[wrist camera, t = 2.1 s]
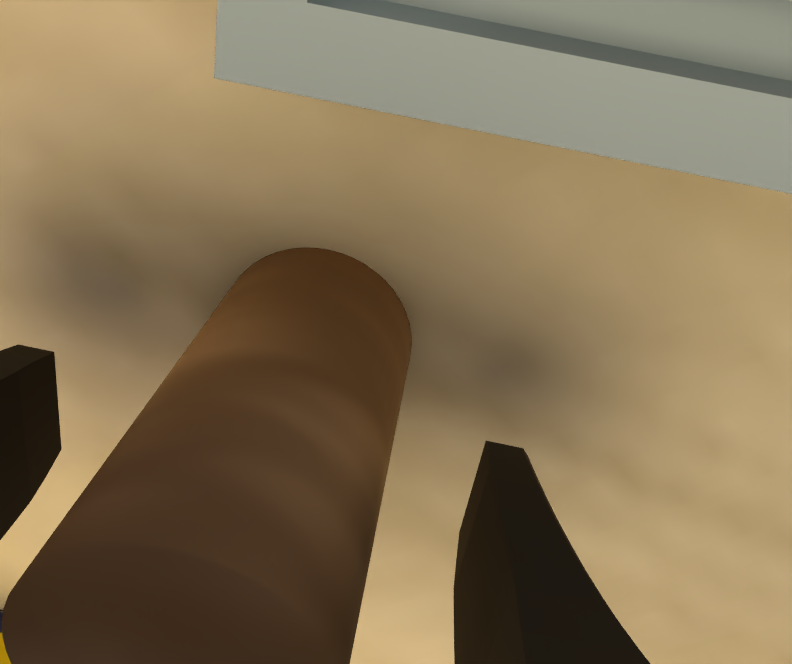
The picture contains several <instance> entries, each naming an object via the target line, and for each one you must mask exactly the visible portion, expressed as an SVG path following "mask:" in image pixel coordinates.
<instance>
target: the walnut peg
mask: <svg viewBox="0 0 792 664" xmlns="http://www.w3.org/2000/svg"><path fill="white" fill-rule="evenodd" d="M410 352H411V330H410V324H409V320H408V317H407V314H406V311H405V309H404V307H403V305H402V303H401V301H400V299H399V298H398V296H397V295H396V293H395V292H394V290H393V289H392V288H391V287H390V286H389V285H388V283H387V282H386V281H385V280H384V279H383V278H382V277H380V276H379V275H378V274H377V273H376V272H375V271H373V270H372V269H370V268H369V267H368V266H366V265H365V264H363V263H361V262H359V261H357V260H356V259H354V258H351V257H349V256H346V255H344V254H341V253H338V252H334V251H330V250H325V249H318V248H296V249H288V250H284V251H280V252H276V253H274V254H271V255H269V256H266V257H264V258H262V259H261V260H259V261H257V262H256V263H254V264H253V265H252V266H250V267H249V268H248V269H247V270H246V271H245V272H244V273H243V274H242V275H241V276H240V277H239V278H238V280H237V281H236V282H235V284H234V285H233V286H232V288H231V289H230V291H229V292H228V293H227V295H226V296H225V297H224V299H223V300H222V302H221V303H220V304H219V306H218V307H217V308H216V310H215V311H214V313H213V314H212V315H211V317H210V318H209V319H208V321H207V322H206V324H205V325H204V326H203V328H202V329H201V330H200V332H199V333H198V335H197V336H196V337H195V339H194V340H193V341H192V343H191V344H190V346H189V347H188V348H187V350H186V351H185V352H184V354H183V355H182V357H181V358H180V359H179V361H178V362H177V363H176V365H175V366H174V367H173V369H172V370H171V372H170V373H169V374H168V376H167V377H166V378H165V380H164V381H163V383H162V384H161V385H160V387H159V388H158V389H157V391H156V392H155V394H154V395H153V396H152V398H151V399H150V400H149V402H148V403H147V405H146V406H145V407H144V409H143V410H142V411H141V413H140V414H139V416H138V417H137V418H136V420H135V421H134V422H133V424H132V425H131V427H130V428H129V429H128V431H127V432H126V433H125V435H124V436H123V438H122V439H121V440H120V442H119V443H118V444H117V446H116V447H115V449H114V450H113V451H112V453H111V454H110V455H109V457H108V458H107V460H106V461H105V462H104V464H103V465H102V466H101V468H100V469H99V471H98V472H97V473H96V475H95V476H94V477H93V479H92V480H91V482H90V483H89V484H88V486H87V487H86V488H85V490H84V491H83V493H82V494H81V495H80V497H79V498H78V499H77V501H76V502H75V503H74V505H73V506H72V508H71V509H70V510H69V512H68V513H67V514H66V516H65V517H64V519H63V520H62V521H61V523H60V524H59V525H58V527H57V528H56V530H55V531H54V532H53V534H52V535H51V536H50V538H49V539H48V541H47V542H46V543H45V545H44V546H43V547H42V549H41V550H40V552H39V553H38V554H37V556H36V557H35V558H34V560H33V561H32V563H31V564H30V565H29V567H28V568H27V569H26V571H25V572H24V574H23V575H22V576H21V578H20V579H19V580H18V582H17V583H16V585H15V586H14V588H13V589H12V591H11V592H10V594H9V596H8V598H7V601H6V604H5V606H4V610H3V617H2V637H3V641H4V645H5V649H6V652H7V655H8V657H9V660H10V662H11V664H349V663H350V658H351V653H352V648H353V643H354V638H355V633H356V628H357V623H358V618H359V613H360V608H361V602H362V597H363V592H364V587H365V582H366V577H367V572H368V567H369V562H370V557H371V552H372V547H373V542H374V536H375V531H376V526H377V521H378V516H379V511H380V506H381V501H382V496H383V491H384V486H385V481H386V476H387V470H388V465H389V460H390V455H391V450H392V445H393V440H394V435H395V430H396V425H397V420H398V415H399V410H400V404H401V399H402V394H403V389H404V384H405V379H406V374H407V369H408V364H409V359H410Z"/></svg>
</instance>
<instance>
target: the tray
mask: <svg viewBox="0 0 792 664" xmlns="http://www.w3.org/2000/svg"><path fill="white" fill-rule="evenodd" d="M214 78H216V79H221V80H226V81H231V82H236V83H241V84H246V85H251V86H256V87H261V88H266V89H271V90H276V91H281V92H286V93H291V94H296V95H301V96H306V97H311V98H315V99H320V100H325V101H330V102H335V103H340V104H345V105H350V106H355V107H360V108H365V109H370V110H375V111H380V112H385V113H390V114H395V115H400V116H405V117H410V118H415V119H420V120H425V121H430V122H435V123H440V124H445V125H450V126H455V127H460V128H465V129H470V130H475V131H480V132H485V133H490V134H495V135H500V136H505V137H510V138H515V139H520V140H525V141H530V142H535V143H540V144H545V145H550V146H555V147H560V148H565V149H570V150H575V151H580V152H585V153H590V154H595V155H600V156H605V157H610V158H615V159H620V160H625V161H630V162H635V163H640V164H645V165H650V166H655V167H660V168H665V169H670V170H675V171H680V172H685V173H690V174H695V175H699V176H704V177H709V178H714V179H719V180H724V181H729V182H734V183H739V184H744V185H749V186H754V187H759V188H764V189H769V190H774V191H779V192H784V193H789V194H792V1H791V0H217V23H216V46H215V68H214Z"/></svg>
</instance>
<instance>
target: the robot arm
mask: <svg viewBox="0 0 792 664" xmlns="http://www.w3.org/2000/svg"><path fill="white" fill-rule="evenodd" d="M60 451H61V438H60V424H59V411H58V397H57V384H56V370H55V356H54V352H52V351H47V350H42V349H37V348H32V347H27V346H23V345H16V346H13V347H10V348H7V349H4V350H1V351H0V540H1V539H2V537H3V536H4V535H5V533H6V532H7V531H8V530H9V528H10V527H11V526H12V525H13V523H14V522H15V521H16V520H17V518H18V517H19V516H20V514H21V513H22V512H23V511H24V509H25V508H26V507H27V505H28V504H29V503H30V501H31V500H32V498H33V497H34V495H35V494H36V492H37V490H38V489H39V487H40V485H41V484H42V482H43V481H44V479H45V477H46V476H47V474H48V472H49V470H50V469H51V467H52V465H53V463H54V462H55V460H56V458H57V456H58V454H59V453H60ZM454 654H455V664H650V663H649V661H648V660H647V659H646V658H645V656H644V655H643V654H642V653H641V651H640V650H639V649H638V647H637V646H636V645H635V643H634V642H633V641H632V639H631V638H630V636H629V635H628V634H627V632H626V631H625V630H624V628H623V627H622V626H621V624H620V623H619V621H618V620H617V618H616V617H615V615H614V614H613V613H612V611H611V610H610V608H609V607H608V605H607V604H606V602H605V600H604V599H603V597H602V596H601V594H600V593H599V591H598V589H597V588H596V586H595V585H594V583H593V581H592V580H591V578H590V577H589V575H588V573H587V572H586V570H585V568H584V567H583V565H582V563H581V562H580V560H579V558H578V556H577V555H576V553H575V551H574V549H573V547H572V546H571V544H570V542H569V540H568V538H567V536H566V534H565V533H564V531H563V529H562V527H561V525H560V523H559V521H558V520H557V518H556V516H555V514H554V512H553V510H552V508H551V506H550V504H549V501H548V499H547V497H546V495H545V493H544V491H543V489H542V487H541V485H540V482H539V480H538V478H537V476H536V474H535V471H534V469H533V467H532V465H531V462H530V460H529V457H528V455H527V454H526V452H525V451H524V449H523V448H519V447H514V446H509V445H504V444H499V443H494V442H490V441H486V442H485V446H484V449H483V453H482V456H481V460H480V463H479V467H478V470H477V473H476V477H475V480H474V484H473V487H472V491H471V494H470V498H469V501H468V504H467V508H466V511H465V515H464V518H463V522H462V525H461V529H460V532H459V541H458V551H457V560H456V570H455V581H454Z"/></svg>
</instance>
